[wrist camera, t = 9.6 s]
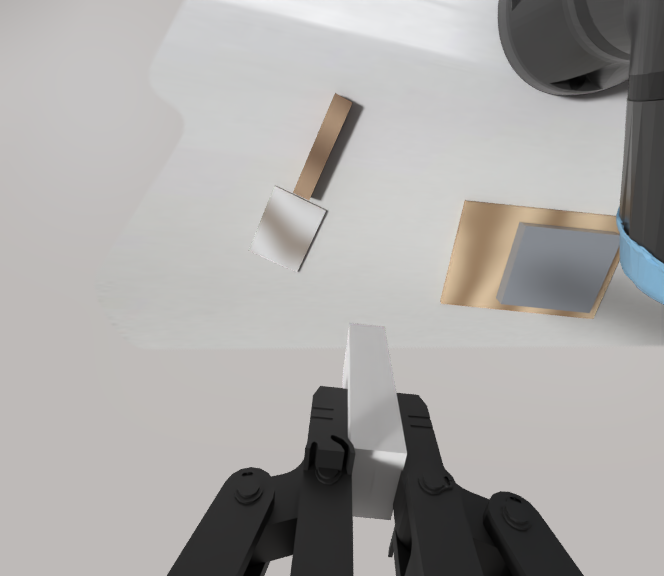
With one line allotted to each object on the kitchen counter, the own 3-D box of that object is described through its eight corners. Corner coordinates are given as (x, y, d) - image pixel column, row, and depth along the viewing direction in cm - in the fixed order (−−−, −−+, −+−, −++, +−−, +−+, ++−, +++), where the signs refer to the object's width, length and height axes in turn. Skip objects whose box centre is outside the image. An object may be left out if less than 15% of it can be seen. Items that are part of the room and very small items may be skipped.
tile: (501, 304, 41) (589, 313, 41) (526, 225, 38) (623, 235, 38) (495, 297, 43) (580, 306, 43) (518, 221, 39) (612, 231, 39)
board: (440, 301, 44) (441, 303, 44) (464, 200, 39) (466, 201, 39) (590, 316, 44) (593, 319, 44) (633, 217, 39) (637, 219, 39)
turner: (315, 83, 35) (314, 82, 34) (371, 113, 36) (372, 113, 35) (249, 249, 42) (245, 254, 41) (297, 271, 43) (295, 276, 42)
